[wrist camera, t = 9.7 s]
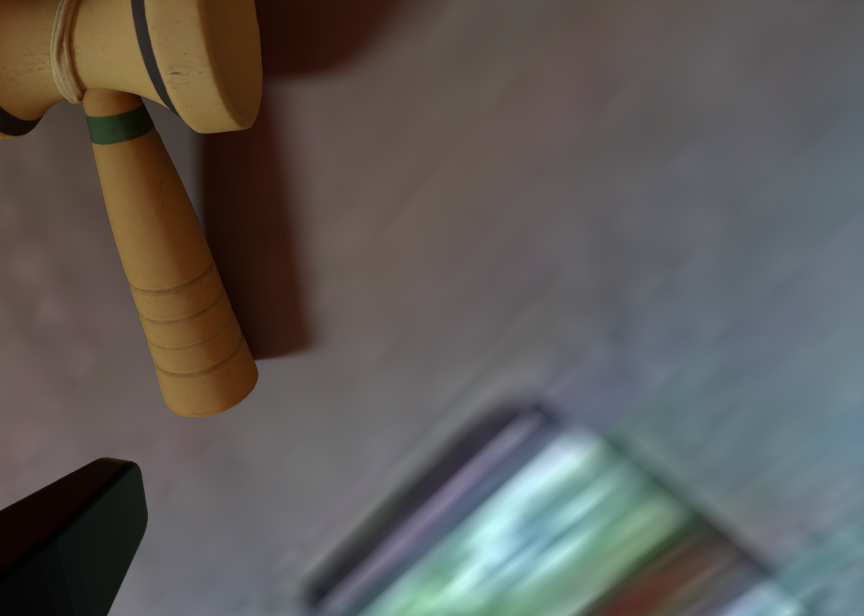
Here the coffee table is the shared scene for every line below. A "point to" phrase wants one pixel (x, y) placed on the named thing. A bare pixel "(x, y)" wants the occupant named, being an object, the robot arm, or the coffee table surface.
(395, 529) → the coffee table surface
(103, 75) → the kendama
